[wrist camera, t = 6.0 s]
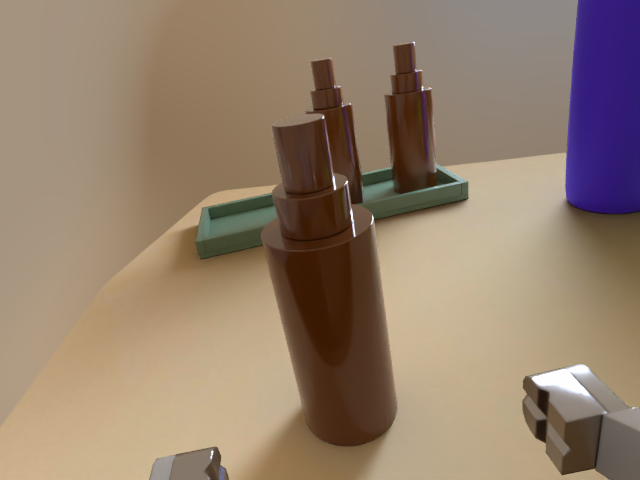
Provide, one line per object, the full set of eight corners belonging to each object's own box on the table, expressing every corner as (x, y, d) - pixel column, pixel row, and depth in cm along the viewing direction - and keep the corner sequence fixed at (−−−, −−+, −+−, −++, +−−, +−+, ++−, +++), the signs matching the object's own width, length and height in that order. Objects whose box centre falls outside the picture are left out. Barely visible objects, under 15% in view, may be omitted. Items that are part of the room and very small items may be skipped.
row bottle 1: (326, 215, 53) (300, 64, 46) (318, 201, 58) (293, 63, 51) (370, 205, 54) (351, 55, 46) (358, 192, 58) (340, 54, 51)
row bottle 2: (401, 198, 54) (387, 48, 47) (387, 185, 59) (373, 48, 52) (444, 189, 54) (437, 38, 47) (427, 177, 59) (418, 39, 52)
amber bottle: (312, 457, 24) (235, 145, 17) (299, 386, 29) (235, 122, 22) (410, 431, 24) (376, 116, 17) (380, 365, 29) (344, 100, 22)
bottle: (675, 212, 41) (755, -219, 28) (574, 218, 43) (607, -179, 31) (639, 182, 48) (691, -173, 36) (555, 188, 50) (575, -143, 38)
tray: (200, 259, 49) (195, 242, 48) (206, 222, 60) (202, 207, 59) (468, 198, 52) (468, 181, 51) (429, 173, 63) (428, 158, 62)
